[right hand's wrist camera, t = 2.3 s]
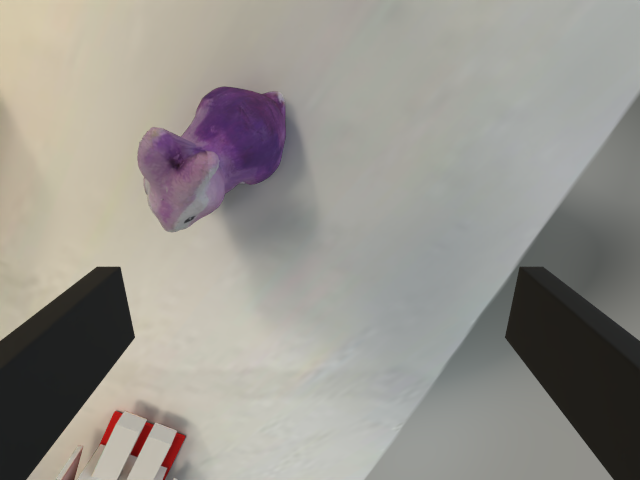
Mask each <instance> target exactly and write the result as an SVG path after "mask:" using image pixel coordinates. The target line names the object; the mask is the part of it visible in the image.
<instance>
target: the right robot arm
mask: <svg viewBox="0 0 640 480" xmlns="http://www.w3.org/2000/svg"><path fill="white" fill-rule="evenodd" d="M134 338H135V336H134V331H133V326H132V321H131V316H130V311H129V306H128V302H127V297H126V292H125V287H124V282H123V277H122V273H121V268H120V267H96V268H95V269H94V270H92V271H91V272H90V273H88V274H87V275H86V276H84V277H83V278H82V279H80V280H79V281H78V282H77V283H75V284H74V285H73V286H71V287H70V288H69V289H67V290H66V291H65V292H64V293H62V294H61V295H60V296H58V297H57V298H56V299H54V300H53V301H52V302H51V303H49V304H48V305H47V306H45V307H44V308H43V309H41V310H40V311H39V312H38V313H36V314H35V315H34V316H32V317H31V318H30V319H28V320H27V321H26V322H24V323H23V324H22V325H21V326H19V327H18V328H17V329H15V330H14V331H13V332H11V333H10V334H9V335H8V336H6V337H5V338H4V339H2V340H1V341H0V480H26V479H27V478H28V477H29V475H30V474H31V473H32V471H33V470H34V469H35V467H36V466H37V465H38V464H39V462H40V461H41V460H42V458H43V457H44V456H45V454H46V453H47V452H48V450H49V449H50V448H51V447H52V445H53V444H54V443H55V441H56V440H57V439H58V437H59V436H60V435H61V433H62V432H63V431H64V430H65V428H66V427H67V426H68V424H69V423H70V422H71V420H72V419H73V418H74V416H75V415H76V414H77V413H78V411H79V410H80V409H81V407H82V406H83V405H84V403H85V402H86V401H87V399H88V398H89V397H90V396H91V394H92V393H93V392H94V390H95V389H96V388H97V386H98V385H99V384H100V382H101V381H102V380H103V379H104V377H105V376H106V375H107V373H108V372H109V371H110V369H111V368H112V367H113V366H114V364H115V363H116V362H117V360H118V359H119V358H120V356H121V355H122V354H123V352H124V351H125V350H126V349H127V347H128V346H129V345H130V343H131V342H132V341H133V339H134ZM505 338H506V339H507V341H508V342H509V343H510V345H511V346H512V347H513V348H514V350H515V351H516V352H517V354H518V355H519V356H520V358H521V359H522V360H523V362H524V363H525V364H526V366H527V367H528V368H529V369H530V371H531V372H532V373H533V375H534V376H535V377H536V379H537V380H538V381H539V382H540V384H541V385H542V386H543V388H544V389H545V390H546V392H547V393H548V394H549V396H550V397H551V398H552V399H553V401H554V402H555V403H556V405H557V406H558V407H559V409H560V410H561V411H562V413H563V414H564V415H565V416H566V418H567V419H568V420H569V422H570V423H571V424H572V426H573V427H574V428H575V430H576V431H577V432H578V433H579V435H580V436H581V437H582V439H583V440H584V441H585V443H586V444H587V445H588V447H589V448H590V449H591V450H592V452H593V453H594V454H595V456H596V457H597V458H598V460H599V461H600V462H601V464H602V465H603V466H604V467H605V469H606V470H607V471H608V473H609V474H610V475H611V477H612V478H613V479H614V480H640V341H639V340H638V339H636V338H635V337H634V336H632V335H631V334H630V333H629V332H627V331H626V330H625V329H623V328H622V327H621V326H619V325H618V324H617V323H615V322H614V321H613V320H612V319H610V318H609V317H608V316H606V315H605V314H604V313H602V312H601V311H600V310H599V309H597V308H596V307H595V306H593V305H592V304H591V303H589V302H588V301H587V300H586V299H584V298H583V297H582V296H580V295H579V294H578V293H576V292H575V291H574V290H572V289H571V288H570V287H569V286H567V285H566V284H565V283H563V282H562V281H561V280H559V279H558V278H557V277H556V276H554V275H553V274H552V273H550V272H549V271H548V270H546V269H545V268H544V267H520V268H519V273H518V277H517V282H516V287H515V292H514V297H513V302H512V306H511V311H510V316H509V321H508V326H507V331H506V336H505Z"/></svg>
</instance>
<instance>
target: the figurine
mask: <svg viewBox="0 0 640 480" xmlns="http://www.w3.org/2000/svg"><path fill="white" fill-rule="evenodd" d="M285 137H286V127H285V101H284V98H283V95H282V94H281V93H280V92H277V91H272V92H268V93H265V94H259V93H256V92H253V91H249V90H244V89H239V88H232V87H219V88H216V89H214V90H212V91H211V92H210V93H208V94H207V95H206V96H205V97H203V99H202V100H201V102H200V104H199V106H198V108H197V111H196V115H195V118H194V120H193V121H192V123H191V125H190V126H189V127H188V129H187V130H186V131H185V132H184V134H183V135H182V136H181V137H180V136H177V135H175V134H173V133H171V132H169V131H167V130H165V129H162V128H155V127H153V128H151V129H150V130H149V131H147V133H146V134H145V135H144V136H143V138H142V140H141V141H140V142H139V149H138V166H139V169H140V171H141V173H142V174H143V176H144V188H145V192H146V193H147V195H148V204H149V207H150V208H151V210H152V212H153V213H154V214H155V215H156V217H157V218H158V220H159V221H160V223H161V225H162V227H163V228H164V229H165V230H166V231H168V232H176V231H179V230H182V229H186V228H187V227H189V226H191V225H192V224H193V223H194V222H196V221H197V220H199V219H200V218H202V217H204V216H206V215H208V214H210V213H211V212H213V211H214V210H215V209H217V208H218V207H219V206H220V204H221V202H222V201H223V199H224V195H225V193H227V192H229V191H230V190H231V189H233V188H234V187H235V186H236V185H238V184H245V183H247V184H249V185H252V184H257V183H259V182H262V181H263V180H265V179H267V178H268V177H269V176H271V175H272V174H273V173H274V171H275V170H276V169H277V168H278V166H279V164H280V161H281V157H282V151H283V147H284V142H285Z"/></svg>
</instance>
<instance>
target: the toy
mask: <svg viewBox="0 0 640 480" xmlns="http://www.w3.org/2000/svg"><path fill="white" fill-rule="evenodd" d="M146 421H147V419H145V418H142V417H140V416H137V415H135V414H132V413H129V412H127V411H124V413H123V414H122V413H120V412H117V411H115V412H114V414H113V416H112V418H111V420H110V423H109V425H108V427H107V429H106V432H105V434H104V436H103V438H102V440H101V443H100V445H99V447H98V449H97V450H96V452H95V453H94V455H93V456H92V458H91V459H90V461H89V462H88V464H87V465H86V467H85V468H84V470H83V471H82V473H81V474H80V476H79V477H78V479H77V480H165V478H166V476H167V474H168V472H169V470H170V468H171V466H172V464H173V462H174V460H175V458H176V456H177V454H178V451H179V449H180V447H181V445H182V443H183V441H184V439H185V435H182V434H179V433H177V430H174V429H171V428H169V427H166V426H164V425H161V424H158V423H156V422H155V424H151V423H148V422H146ZM82 449H83V446H80V445H78V447H77V448H76V450H75V451H74V453H73V454H72V456H71V457H70V459H69V460H68V462H67V463H66V464H65V466H64V467H63V469H62V470H61V472H60V473H59V475H58V476H57V478H56V480H74V478H75V475H76V471H77V467H78V464H79V460H80V456H81V453H82ZM173 480H177V479H175V478H174V479H173Z"/></svg>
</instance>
